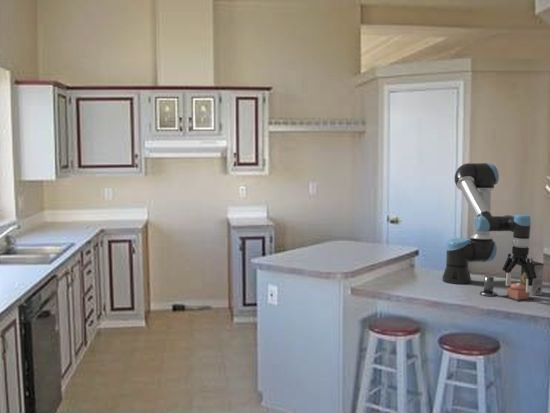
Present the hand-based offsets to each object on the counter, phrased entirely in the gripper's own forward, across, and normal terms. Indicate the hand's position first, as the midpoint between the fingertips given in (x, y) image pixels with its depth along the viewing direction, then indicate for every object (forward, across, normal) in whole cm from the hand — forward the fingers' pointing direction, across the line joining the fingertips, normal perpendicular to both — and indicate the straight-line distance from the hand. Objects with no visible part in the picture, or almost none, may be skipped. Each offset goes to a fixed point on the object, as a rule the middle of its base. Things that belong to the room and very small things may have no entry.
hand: (518, 288), depth 316 cm
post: (+5, -10, -9) cm, 15 cm away
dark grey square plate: (+5, 0, 0) cm, 5 cm away
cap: (+4, 0, 0) cm, 4 cm away
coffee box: (+5, -6, +14) cm, 16 cm away
